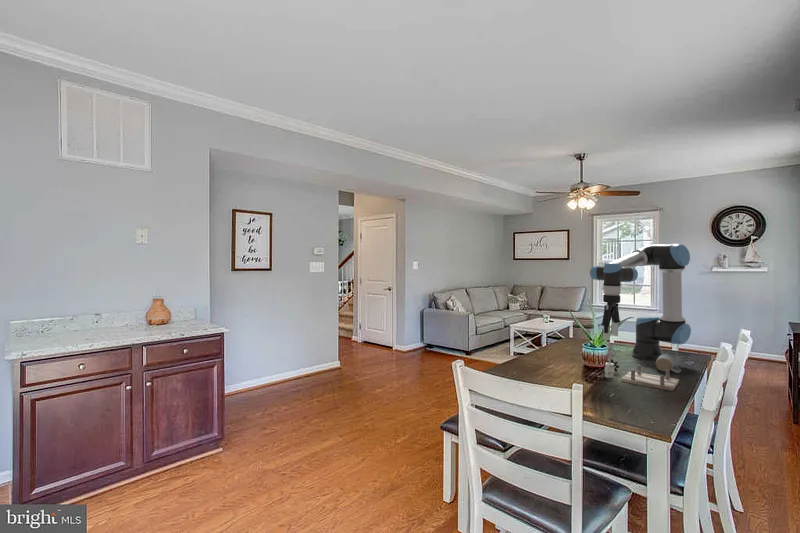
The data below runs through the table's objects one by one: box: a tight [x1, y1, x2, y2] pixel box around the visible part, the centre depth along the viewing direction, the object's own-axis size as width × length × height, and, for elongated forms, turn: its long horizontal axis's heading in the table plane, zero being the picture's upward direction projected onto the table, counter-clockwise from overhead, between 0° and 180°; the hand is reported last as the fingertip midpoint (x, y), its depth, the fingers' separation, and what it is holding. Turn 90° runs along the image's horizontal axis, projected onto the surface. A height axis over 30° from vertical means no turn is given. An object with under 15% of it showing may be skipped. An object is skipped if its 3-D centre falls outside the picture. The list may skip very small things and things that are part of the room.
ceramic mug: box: [655, 353, 682, 374], centre depth 208 cm, size 11×8×8 cm
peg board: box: [621, 364, 680, 392], centre depth 190 cm, size 16×20×6 cm
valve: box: [604, 358, 620, 379], centre depth 201 cm, size 7×7×12 cm
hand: (610, 337), depth 201 cm, fingers open, 13 cm apart
